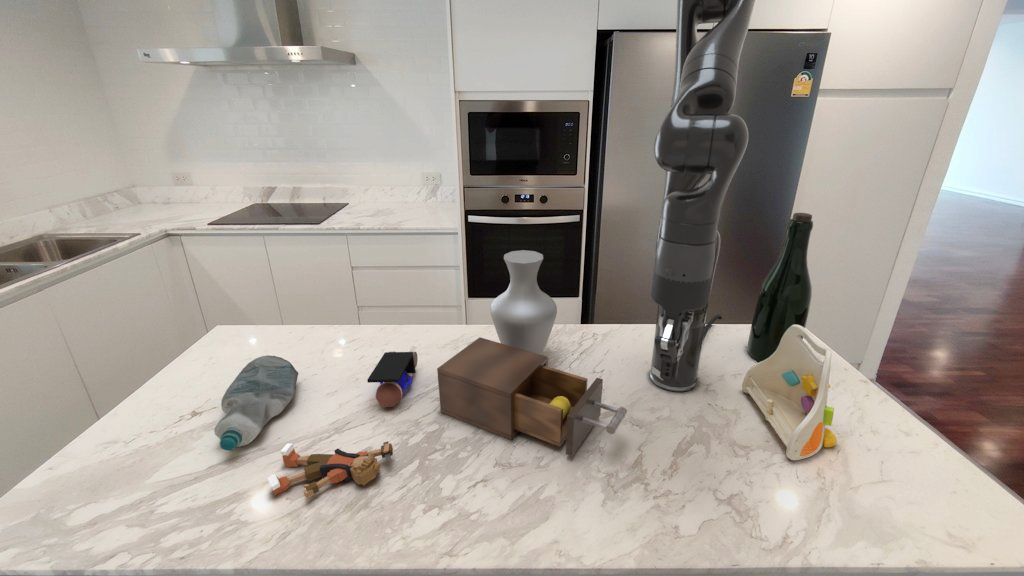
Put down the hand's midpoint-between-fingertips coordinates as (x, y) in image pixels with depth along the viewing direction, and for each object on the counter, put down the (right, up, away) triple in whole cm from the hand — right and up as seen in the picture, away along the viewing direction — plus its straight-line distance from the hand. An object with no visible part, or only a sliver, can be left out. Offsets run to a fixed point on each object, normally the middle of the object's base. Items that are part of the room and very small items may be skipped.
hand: (668, 377), depth 72 cm
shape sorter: (+27, -12, +16) cm, 33 cm away
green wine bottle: (+36, -2, +38) cm, 52 cm away
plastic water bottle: (-72, -11, +19) cm, 76 cm away
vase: (-21, -3, +37) cm, 43 cm away
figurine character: (-47, -8, +27) cm, 55 cm away
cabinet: (-27, -10, +22) cm, 36 cm away
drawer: (-14, -11, +14) cm, 23 cm away
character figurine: (-52, -17, +5) cm, 55 cm away
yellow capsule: (-15, -10, +14) cm, 23 cm away
